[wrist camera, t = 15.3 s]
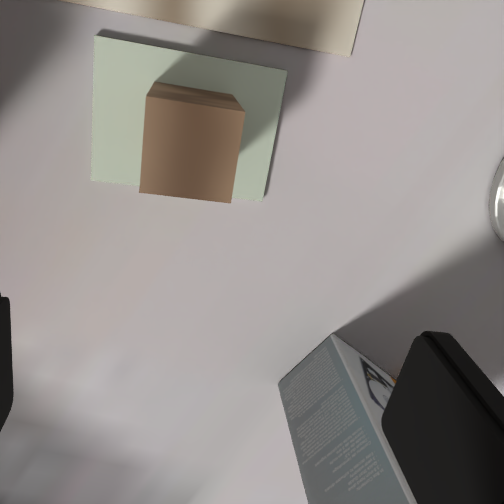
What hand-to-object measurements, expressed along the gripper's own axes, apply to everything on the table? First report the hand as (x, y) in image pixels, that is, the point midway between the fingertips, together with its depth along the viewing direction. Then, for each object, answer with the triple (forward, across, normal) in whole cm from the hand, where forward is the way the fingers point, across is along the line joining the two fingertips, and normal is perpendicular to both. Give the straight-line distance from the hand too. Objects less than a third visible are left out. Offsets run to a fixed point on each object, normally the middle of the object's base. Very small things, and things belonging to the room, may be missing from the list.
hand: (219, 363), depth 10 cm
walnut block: (+22, +1, -1) cm, 22 cm away
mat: (+23, +1, -1) cm, 23 cm away
